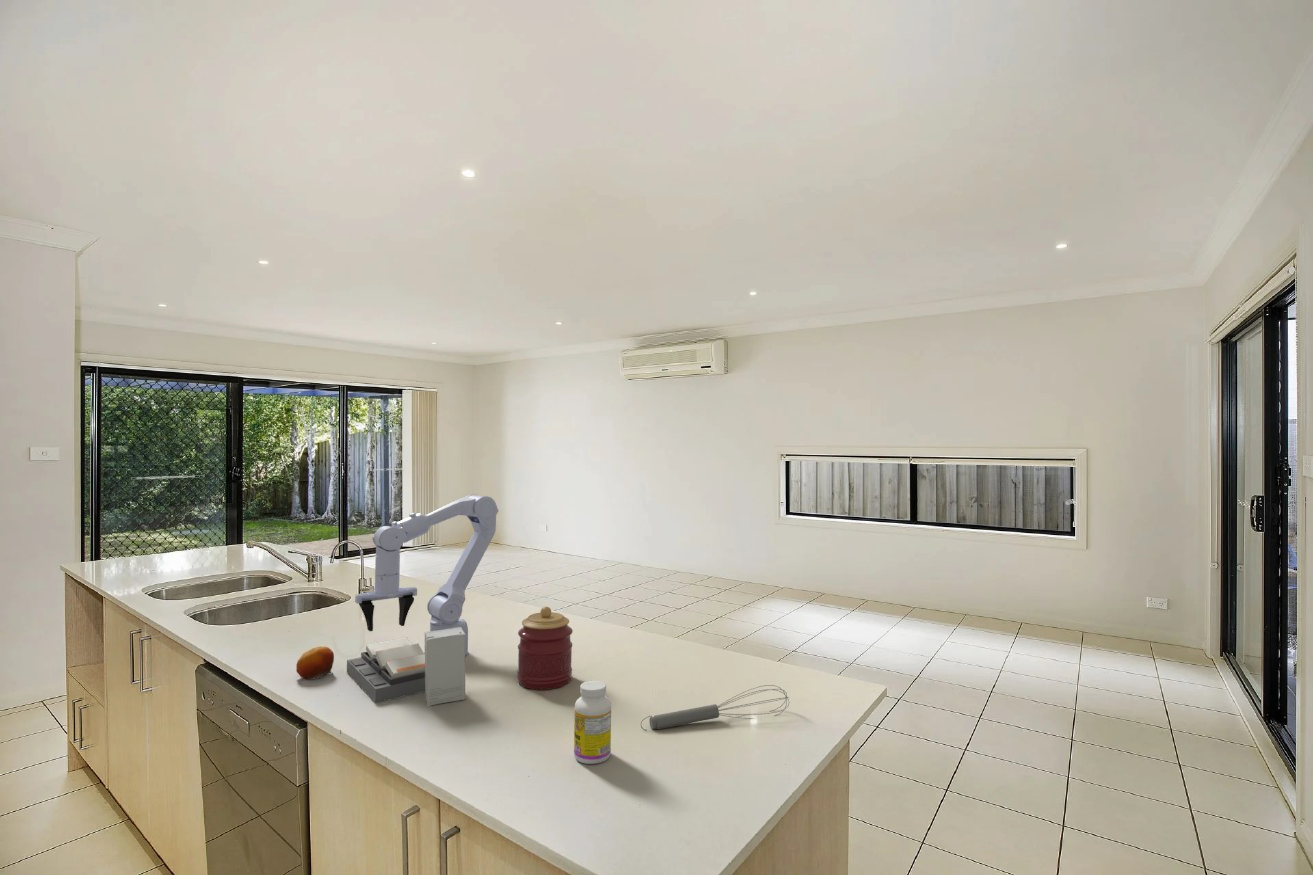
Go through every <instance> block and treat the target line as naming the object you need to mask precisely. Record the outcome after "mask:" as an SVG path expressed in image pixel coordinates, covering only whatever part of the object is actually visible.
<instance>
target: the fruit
mask: <svg viewBox="0 0 1313 875" xmlns="http://www.w3.org/2000/svg"><path fill="white" fill-rule="evenodd" d="M334 660H335V654H334V651H333V650H332V649H331V648H329V647H328V646H317V647H313V648H311V649H308V650H306V651H305V652H304V653H302V655H301V656H300V657H299V659H297V662H296V665H295V666H296V667H295V668H296V674H298V675H299V676H300V677H301V678H302V679H303V680H304V679H305V680H313V679H319V680H320V679H321V677H322V676H323V675H327V674H331V675H334V673H333V672H332V669H333V665H334V662H335V661H334Z"/></svg>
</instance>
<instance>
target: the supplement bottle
mask: <svg viewBox="0 0 1313 875" xmlns="http://www.w3.org/2000/svg"><path fill="white" fill-rule="evenodd" d="M579 689H580V690H579V693H580V695H581V696H579V698H577V699H576V701H575V703H574V728H573V729H574V730H573V756H574V758H575V759H576V761H578V762H579V763H581V764H585V765H595V764H597V765H598V764H601V763H604V762H606V761H607V760H608V759H609V758H610V756H611V752H612V751H611V750H612V702H611V700H610V698H609V697H608V696H606V694H607V684H606V682H603V681H601V680H589V681H584V682H582V683H581V684H580V688H579Z"/></svg>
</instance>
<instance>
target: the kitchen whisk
mask: <svg viewBox="0 0 1313 875" xmlns="http://www.w3.org/2000/svg"><path fill="white" fill-rule="evenodd" d="M768 686H769V687H776V688H778V689H776V688H769V689H768V688H767V689H761V690H760V689H759V690H755V689H758V688H761V687H768ZM751 690H754V691H752V692H749V691H751ZM780 690H781V691H780ZM766 691H777V692H779V693H782V694H783V695H784V696H785V697H784V696H783V698H782V697H778V698H772V699H767V700H765V699H764V700H761V701H755V702H752V703H751V702H749V703H746V704H742V705H741V704H740V705H736V706H731V707H725V708H722V707H724V706H726V705H729V704H731V703H733V702H736V701H739V700H741V699H744V698H746V697H749V696H752V695H756V694H759V693H763V692H766ZM746 692H748V693H746ZM744 693H746V694H744ZM787 693H788V692H786V691H785V690H784V689H782V688H781V687H780V686H778V685H775V684H766V685H760V686H757V687H753V688H749V689H748V690H745V691H743V692H741V693H738V694H736V695H735V696H733V697H731V698H729V699H727V700H725V701H723V702H722V703H720V704H719V705H717V704H709V705H704V706H698V707H692V708H688V709H683V710H677V711H672V712H671V711H670V712H667V713H661V714H656V715H654V716H652V715H649V716H647V717H645V718H643V719H642V720H641V722H640V724H642V722H643V721H644V720H646V719H647V718H649V727H650V729H651V730H662V729H666V728H672V727H676V726H677V727H678V726H682V725H688V724H693V723H697V722H702V721H708V720H712V719H718V718H719V717H720V716H723V717H727V718H728V717H729V718H733V716H734V718H737V719H741V717H738V716H751V715H752V716H756V715H757V716H759V715H763V713H752V714H751V713H748V714H747V713H746V714H745V713H742V714H741V713H723V712H722V713H721V712H720V711H727V710H732V709H738V708H745V707H749V706H756V705H760V704H761V705H762V704H766V703H771V702H776V701H781V700H784V702H783V703H782V704H781V705H780V706H779V707H777V708H775V709H772V710H769V711H768V712H767V713H764V715H769V714H774V713H778V714H775V715H774V717H776V716H779V715H781V714H782V713H784V711H785V710H786V709H787V708H789V707H790V706H789V705H790V703H791V702H790V699H789V698H790V697H789V696H788V694H787ZM741 694H742V695H741ZM787 701H788V702H787ZM783 705H785V706H784V708H783V709H781V710H778V709H779V708H781V707H783ZM720 708H721V709H720ZM776 710H778V711H776ZM744 719H747V720H749V719H750V720H753V719H754V717H744ZM640 728H641V729H642V730H644V731H646V729H645V728H643V727H642V725H640Z"/></svg>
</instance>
